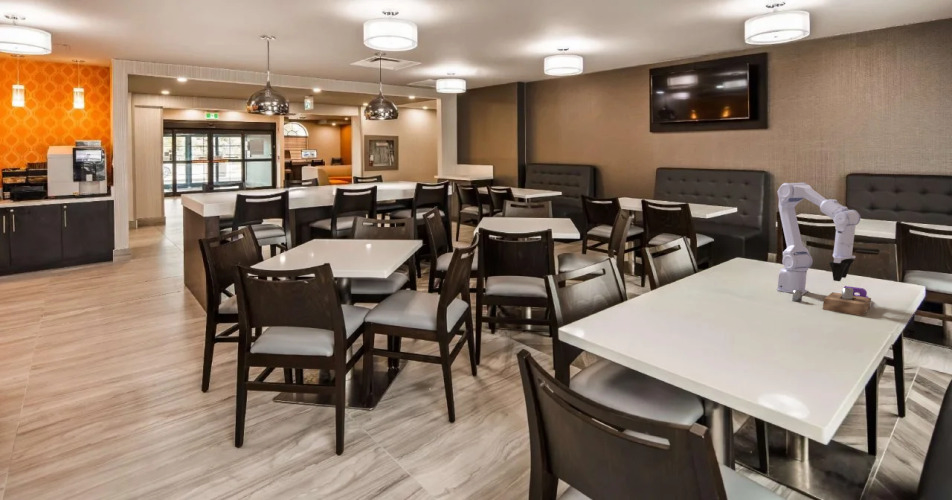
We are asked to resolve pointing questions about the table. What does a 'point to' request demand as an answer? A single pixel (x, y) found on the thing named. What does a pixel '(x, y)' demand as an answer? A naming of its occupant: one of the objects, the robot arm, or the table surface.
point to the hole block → (847, 304)
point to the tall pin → (847, 293)
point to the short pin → (797, 295)
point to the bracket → (858, 291)
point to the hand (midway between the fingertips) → (839, 279)
